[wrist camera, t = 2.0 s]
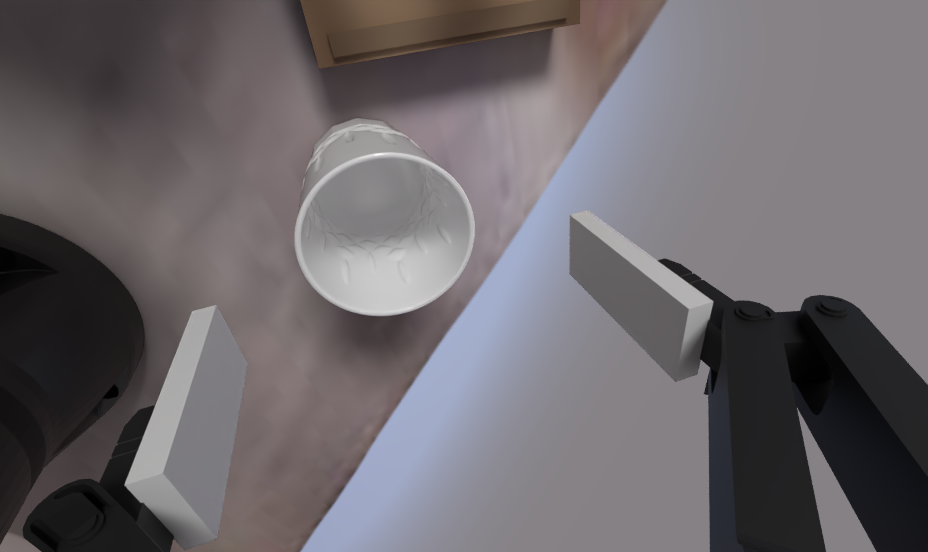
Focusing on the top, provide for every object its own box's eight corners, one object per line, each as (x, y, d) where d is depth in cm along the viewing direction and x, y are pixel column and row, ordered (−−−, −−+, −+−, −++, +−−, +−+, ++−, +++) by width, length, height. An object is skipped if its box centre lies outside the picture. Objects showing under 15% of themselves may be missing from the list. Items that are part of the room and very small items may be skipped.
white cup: (448, 189, 30) (502, 258, 22) (349, 252, 30) (366, 344, 22) (383, 79, 25) (420, 114, 17) (268, 154, 26) (250, 223, 17)
